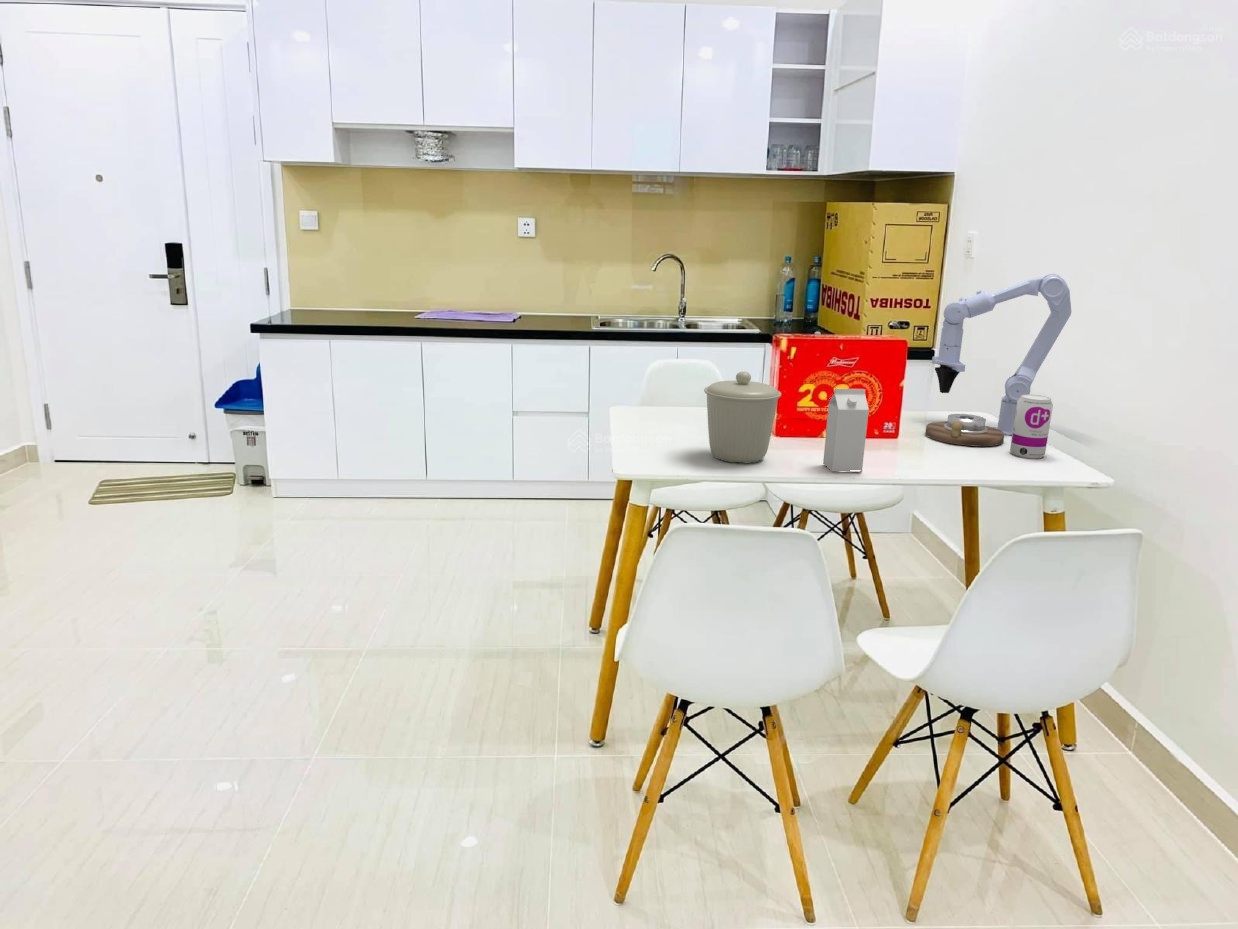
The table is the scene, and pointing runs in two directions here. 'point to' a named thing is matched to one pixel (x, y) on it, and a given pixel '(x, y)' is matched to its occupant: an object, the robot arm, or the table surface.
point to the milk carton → (846, 430)
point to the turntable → (963, 435)
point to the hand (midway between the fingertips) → (944, 392)
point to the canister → (740, 418)
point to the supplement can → (1031, 426)
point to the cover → (967, 423)
